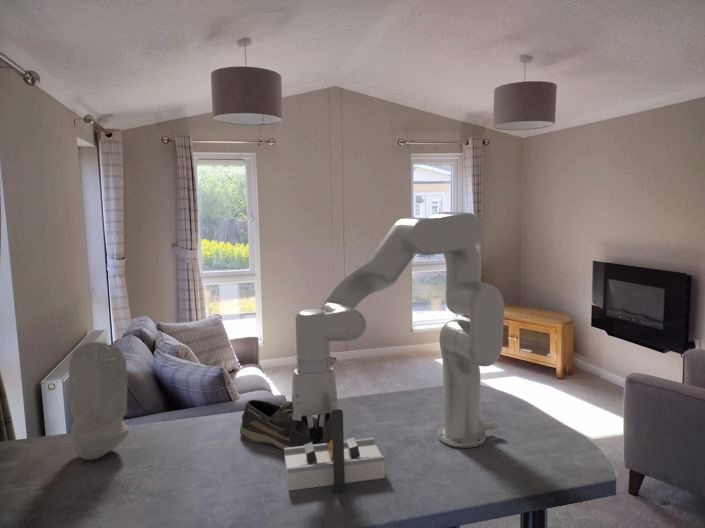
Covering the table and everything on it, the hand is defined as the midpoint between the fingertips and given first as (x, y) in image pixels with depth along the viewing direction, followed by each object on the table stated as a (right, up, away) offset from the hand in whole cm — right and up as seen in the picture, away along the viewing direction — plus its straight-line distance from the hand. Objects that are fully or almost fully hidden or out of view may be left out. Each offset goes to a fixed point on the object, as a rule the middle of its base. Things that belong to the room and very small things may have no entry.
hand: (316, 441), depth 117 cm
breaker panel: (+4, -8, +2) cm, 9 cm away
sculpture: (-55, -8, +13) cm, 57 cm away
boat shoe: (-9, -7, +18) cm, 21 cm away
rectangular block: (+4, -4, +1) cm, 6 cm away
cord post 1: (+3, -7, +9) cm, 12 cm away
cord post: (+6, -9, -6) cm, 12 cm away
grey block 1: (-1, -4, 0) cm, 4 cm away
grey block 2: (+9, -4, +2) cm, 10 cm away
